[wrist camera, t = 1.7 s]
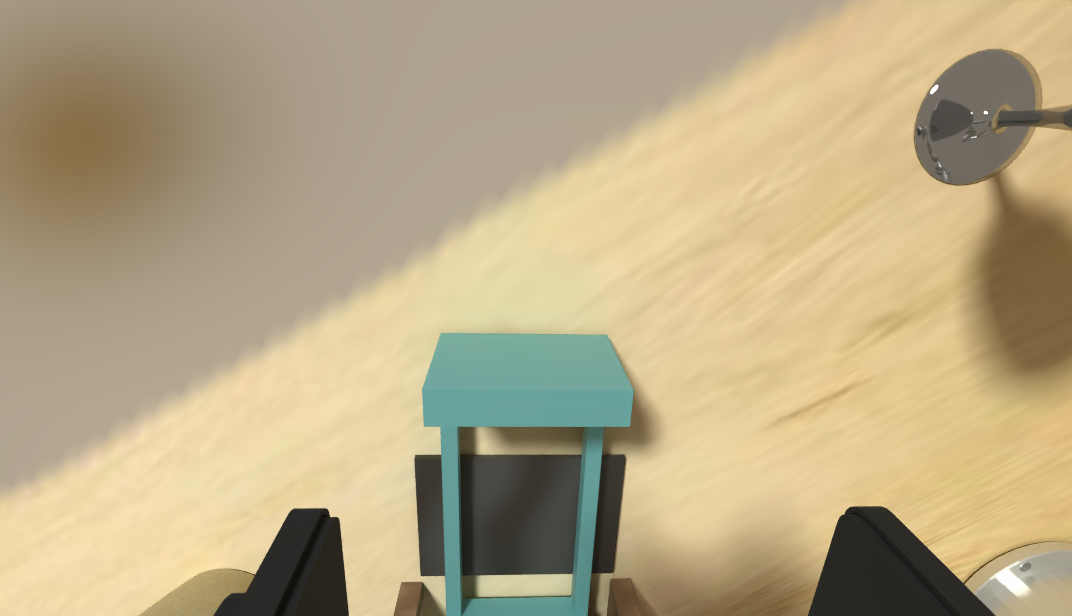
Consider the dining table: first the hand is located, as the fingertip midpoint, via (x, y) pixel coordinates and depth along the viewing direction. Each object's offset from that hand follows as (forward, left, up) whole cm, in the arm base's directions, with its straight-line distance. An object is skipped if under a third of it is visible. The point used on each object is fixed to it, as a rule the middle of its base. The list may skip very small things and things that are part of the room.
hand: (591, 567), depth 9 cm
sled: (0, +19, -21) cm, 29 cm away
